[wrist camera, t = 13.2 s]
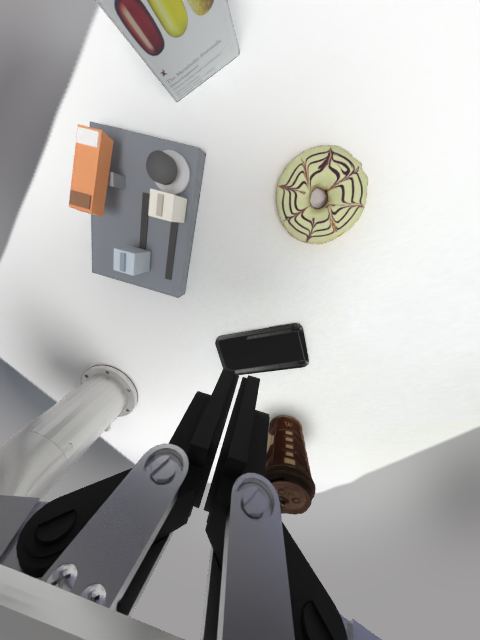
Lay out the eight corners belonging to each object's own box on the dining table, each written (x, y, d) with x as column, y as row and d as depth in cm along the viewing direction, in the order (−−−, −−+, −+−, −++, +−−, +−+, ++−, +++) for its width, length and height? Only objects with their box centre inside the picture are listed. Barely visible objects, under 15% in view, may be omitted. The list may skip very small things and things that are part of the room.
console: (184, 293, 39) (171, 302, 34) (103, 269, 40) (79, 274, 35) (205, 154, 31) (191, 140, 26) (103, 129, 32) (73, 112, 27)
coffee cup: (269, 446, 47) (264, 519, 35) (256, 414, 45) (247, 481, 33) (312, 441, 45) (323, 517, 33) (301, 407, 42) (308, 476, 31)
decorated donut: (337, 131, 28) (344, 117, 24) (374, 212, 30) (386, 210, 26) (263, 187, 31) (260, 181, 28) (301, 256, 33) (303, 259, 30)
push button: (175, 187, 28) (170, 185, 27) (151, 181, 29) (145, 179, 27) (179, 157, 27) (173, 153, 26) (153, 151, 27) (147, 147, 26)
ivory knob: (184, 222, 32) (169, 221, 28) (164, 217, 32) (146, 215, 28) (187, 199, 30) (172, 194, 26) (166, 193, 31) (148, 187, 27)
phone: (309, 366, 38) (225, 376, 42) (309, 362, 39) (227, 373, 43) (301, 323, 36) (213, 338, 40) (301, 320, 37) (215, 335, 41)
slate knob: (149, 271, 35) (131, 276, 31) (131, 265, 35) (111, 270, 31) (150, 251, 34) (132, 254, 30) (132, 246, 34) (111, 248, 30)
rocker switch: (102, 217, 30) (89, 212, 28) (81, 211, 30) (67, 206, 28) (113, 140, 28) (100, 129, 26) (91, 135, 28) (76, 123, 26)
